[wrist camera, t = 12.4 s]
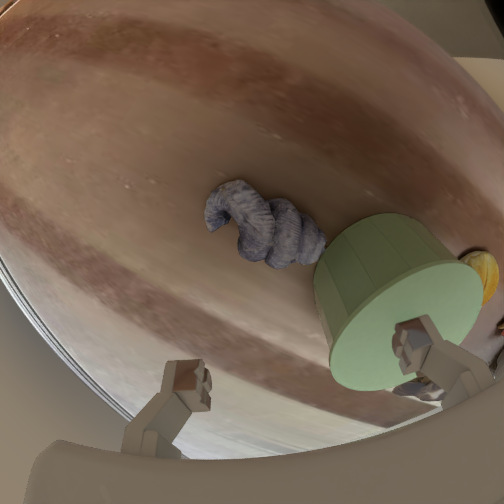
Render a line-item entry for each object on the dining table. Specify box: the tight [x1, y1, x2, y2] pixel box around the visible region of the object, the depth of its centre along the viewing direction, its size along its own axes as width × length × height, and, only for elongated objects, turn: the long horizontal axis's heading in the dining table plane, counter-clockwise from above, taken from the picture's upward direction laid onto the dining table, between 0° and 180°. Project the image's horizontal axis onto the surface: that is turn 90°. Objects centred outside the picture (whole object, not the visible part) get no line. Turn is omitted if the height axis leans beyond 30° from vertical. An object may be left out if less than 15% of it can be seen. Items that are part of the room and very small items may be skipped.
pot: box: [313, 213, 458, 350], centre depth 23 cm, size 14×14×8 cm
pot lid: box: [329, 259, 483, 391], centre depth 18 cm, size 15×15×4 cm
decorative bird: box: [392, 376, 447, 401], centre depth 37 cm, size 6×25×5 cm, turn 63°
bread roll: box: [459, 251, 499, 306], centre depth 26 cm, size 8×9×4 cm
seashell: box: [204, 179, 327, 269], centre depth 21 cm, size 5×5×10 cm
